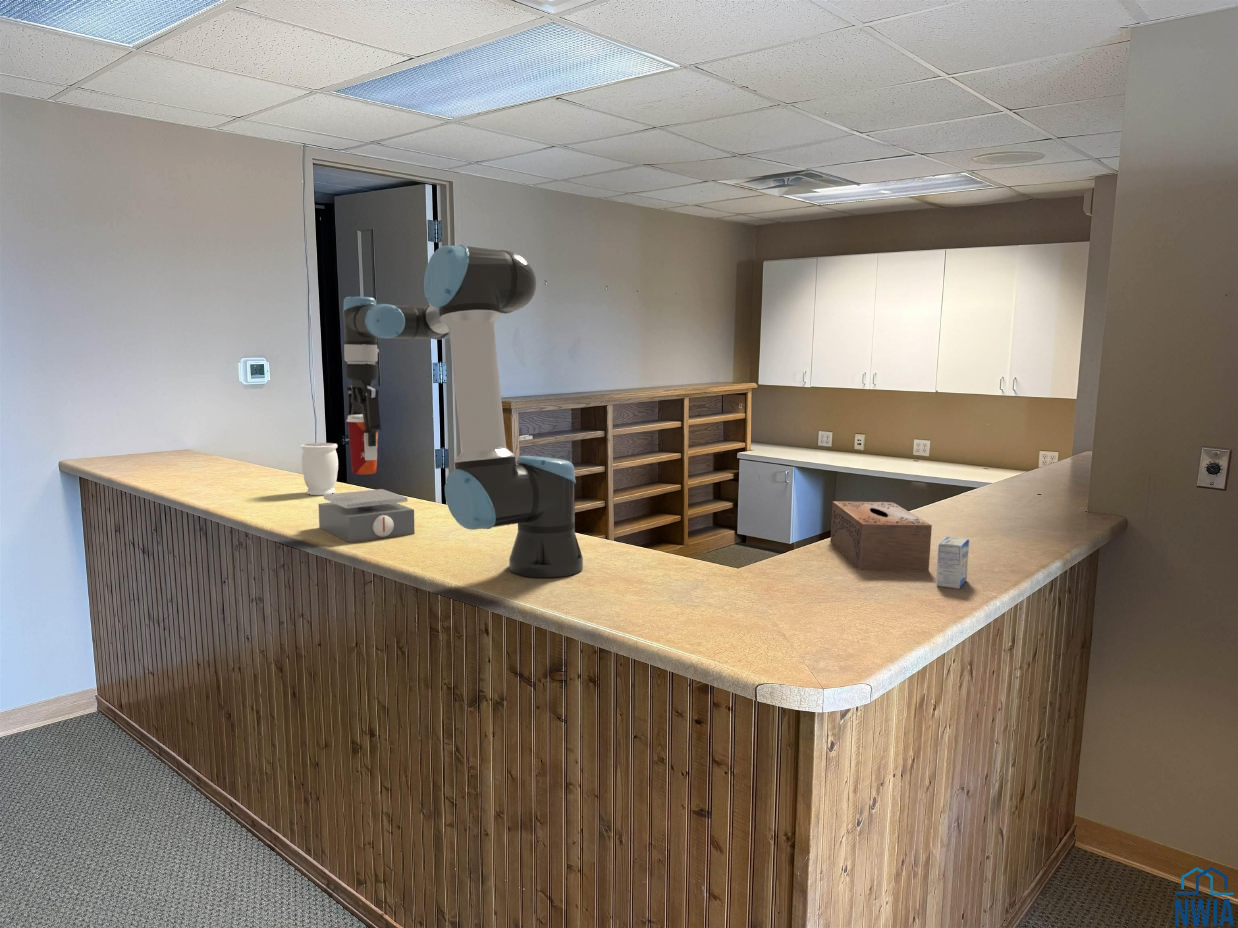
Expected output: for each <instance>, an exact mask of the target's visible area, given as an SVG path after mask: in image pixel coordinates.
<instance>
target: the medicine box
mask: <svg viewBox="0 0 1238 928" xmlns="http://www.w3.org/2000/svg"><path fill="white" fill-rule="evenodd" d="M969 547H970V539H969V538H965V537H964V538H963V537H958V536H946V537H945V538H944V539H943V540H942V541H941V542H940V543H939V544H938V547H937V566H936V582H935V583H936V586H937V587H942V588H949V589H956V590H960V589H961V587H962V586H964V583H965V582H966V581H967V580H968V564H969V563H968V562H969V551H970V550H969Z"/></svg>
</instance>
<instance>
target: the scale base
mask: <svg viewBox="0 0 1238 928" xmlns="http://www.w3.org/2000/svg"><path fill="white" fill-rule="evenodd" d="M318 525H319V526H318V527H319V528H320V529H322V530H323V531H326V532H327V533H329V534H332V535H334V536H336V537H337V538H340V540H343V541H346V542H348V543H350V544H351V543H356V542H357V543H358V542H364V541H365V542H366V541H372V540H380V539H387V538H394V537H402V536H408V535H416V534H415V533H416V532H415V509H414V508H411V507H408V506H405V505H402V504H400V503H392V504H383V505H374V506H368V507H356V508H344V507H342V506H340V505H337V504H335V503H333V502H330V501H329V502H323V503H318Z"/></svg>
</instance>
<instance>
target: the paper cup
mask: <svg viewBox="0 0 1238 928" xmlns="http://www.w3.org/2000/svg"><path fill="white" fill-rule="evenodd" d="M345 421H346V422H347V421H348V426H347V429H348V430H347V431H348V443H349V450H350V451H349V452H350V463H351V472H352V474H353V475H373V474H376V473H377V470H378V469H377V467H378V466H377V465H378V459H377V460H365V447H364V433H363V431H364V430H366V429H365V423H364V418H363V414H356V415H348V420H347V419H346V420H345ZM376 439H377V446H378V439H379V430H378V431H377V432H376Z"/></svg>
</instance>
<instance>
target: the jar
mask: <svg viewBox="0 0 1238 928" xmlns="http://www.w3.org/2000/svg"><path fill="white" fill-rule="evenodd" d="M300 447H301V450H302V455H301V471H302V473H303V480H304V484H305V486H306V487H307V491H306V495H309V494H310V495H309V496H324V495H327V494H332V493H333V494H336V492H337V491H336V489H335V485H336V483H337V479H338V471H339V458H338V453H337V450H336V449H337V448H338V444H337V443H333V442H311V443H304V444H301V445H300Z"/></svg>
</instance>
